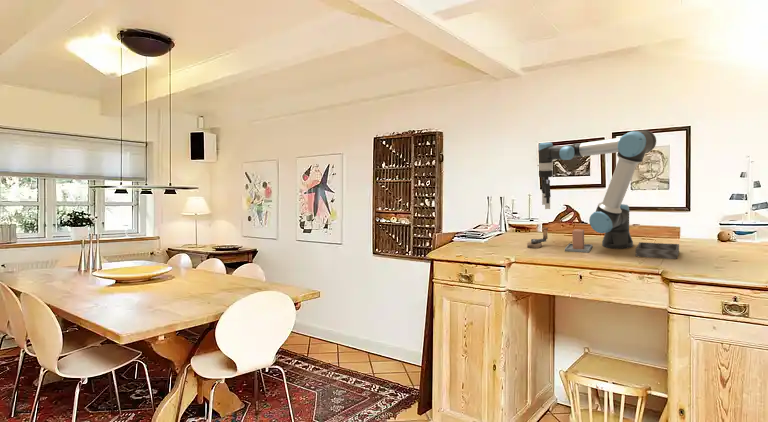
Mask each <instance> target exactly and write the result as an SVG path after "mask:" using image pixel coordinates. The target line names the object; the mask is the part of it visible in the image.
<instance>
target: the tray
mask: <svg viewBox="0 0 768 422" xmlns="http://www.w3.org/2000/svg"><path fill="white" fill-rule="evenodd" d="M592 249H593V244H591V243H588V244H587V243H584V249H573V243H571V242H570V243H568V244H567V246H565V248H564V252H568V253H570V252H572V253H590V251H591V250H592Z"/></svg>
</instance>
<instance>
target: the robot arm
mask: <svg viewBox="0 0 768 422" xmlns="http://www.w3.org/2000/svg"><path fill="white" fill-rule="evenodd" d="M656 145H657V137H656V135H655V134H654V133H653V132H652V131H650V130H648V129H647V130H645V129H643V130H642V129H641V130H633V131H628V132H627V133H625V134H623V135H621V137H614V138H607V139H600V140H593V141H588V142H581V143H580V142H579V143H577V142H576V143H572V144H566V145H553V142H551V141H550V142H548V141H547V142H540V143H539V144H538V151H537V152H538V164H537V166H538V170H539V171H538V177H539V178H541V200H542V201H541V203H542V205H543V206H544V210H551V180H550V179H549V178H552V177H553V175H554V174H553V173H554V172H553V171H554V170H553V168H554V163H553V160H557V161H558V160H560V161H561V160H563V161H567V160H568V161H570V160H572V159H573V158H581V157H589V156H598V155H606V154H614V153H615V154H616V153H617V154H616V156H617V158H618V161H617V164H616V166H615V169H614V171H613V174H612V177H611V179H610V182H609V184H608V186H607V189H606V192H605V195H604V197H603V200H602V201H601V202H599V203H597V207H596V210H595V211H594V212H593V213H592V214H590V216H589V219H588V220H589V221H588V222H589V225H590V226H591V229H592V230H594V232H597V233H598V234H604V236H603V237H602V238H603V239H602V241H601V243H602V244H601V246H602V247H603V248H607V249H613V250H614V249H615V250H623V249H630V248H633V247H634V241H633V238H632V236H631V233H630V212H631V211H630V206H629V205H628V204H624V203H623V200H624V197H625V196H626V194H627V191H628V188H629V185H630V184H631V181H632V178H633V176H634V173H635V170H636V169H637V166H638V164H641V163H642V162H643V160H644V157H645V156H646V154H647V153H650V152H652V151H654V149H655V148H656ZM622 203H623V204H622Z"/></svg>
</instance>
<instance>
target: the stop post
mask: <svg viewBox="0 0 768 422" xmlns="http://www.w3.org/2000/svg"><path fill="white" fill-rule="evenodd" d="M572 244H573V249H584V244H585V229H580V228H578V229H577V228H575V229H573V230H572Z"/></svg>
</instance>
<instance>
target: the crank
mask: <svg viewBox="0 0 768 422" xmlns="http://www.w3.org/2000/svg"><path fill="white" fill-rule="evenodd" d="M548 230H549V227H542V228H541V231H542V238H538V239H537V238H531V239H530V242H531V243H539V242H541V243H545V242H547V239H548V237H549V236H548Z"/></svg>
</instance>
